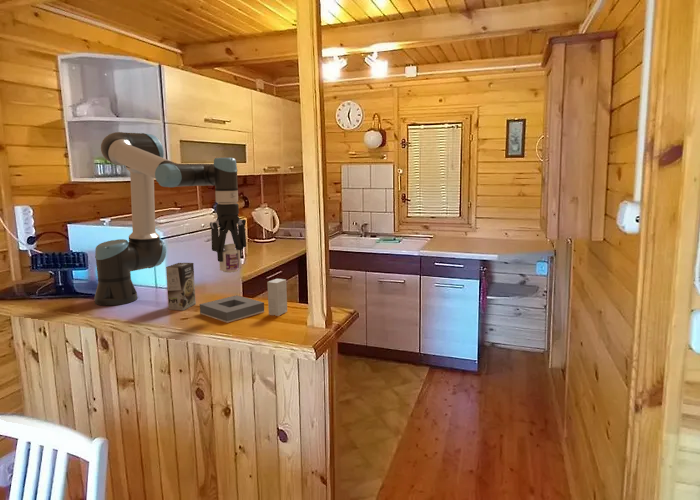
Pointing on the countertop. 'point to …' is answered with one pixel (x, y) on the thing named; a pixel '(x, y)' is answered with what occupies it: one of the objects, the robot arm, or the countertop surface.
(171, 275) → the coffee box
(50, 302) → the countertop surface
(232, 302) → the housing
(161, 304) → the countertop surface
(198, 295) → the countertop surface
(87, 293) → the countertop surface
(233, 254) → the pill bottle
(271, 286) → the skincare box
